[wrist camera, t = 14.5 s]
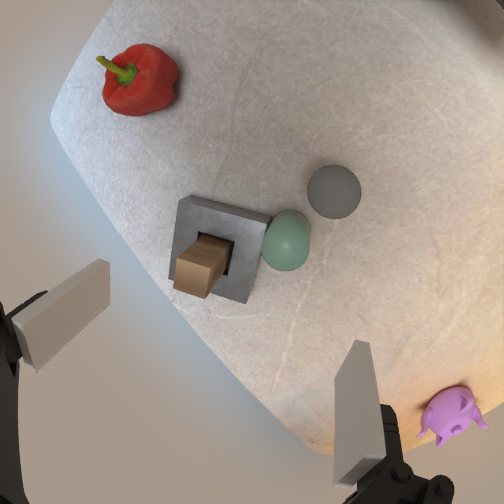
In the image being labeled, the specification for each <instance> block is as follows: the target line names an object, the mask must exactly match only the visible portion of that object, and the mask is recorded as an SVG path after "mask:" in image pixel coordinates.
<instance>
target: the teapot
mask: <svg viewBox="0 0 504 504" xmlns="http://www.w3.org/2000/svg"><path fill="white" fill-rule="evenodd" d="M472 419H473V420H475V422H476V423H477V424H478V425H479V426H480V427H481V428H484V429H487V428H489V426H488V425H487V424H485V422H484V421H483V419H482V416H481V412H480V410H479V408H478V407H477V406H476V405H475V403H474V396H473V393H472V392H471V391H470V390H469V389H467V388H464V387H452V388H449V389H446V390H444V391H442V392H440V393H439V394H437V395H436V396H435V397H434V398H433V399H432V400H431V401H430V403H429V404H428V406H427V408H426V410H425V411H424V413H423V414H422V417H421V427H422V429H421V432H420V433H419V434H418V435H417V436H416V437H419V436H422V435H424V434H425V433H426V432H427V430H428V427H429V428H430V429H431V430H432V431H433V432H434V433H436V444H437V447H442V446H443V445H444V444H445V442H446V441H447V439H448V438H449V437H453V436H457V435H459V434H460V433H461V432H463V431H464V430H465V429H466V428H467V427H468V426H469V424H470V422H471V420H472ZM442 437H443V438H442Z"/></svg>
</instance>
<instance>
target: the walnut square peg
mask: <svg viewBox="0 0 504 504" xmlns="http://www.w3.org/2000/svg"><path fill="white" fill-rule="evenodd" d="M234 245H235V241H231V240H228V239H225V238H221V237H218V236H214V235H211V234H207V233H204V234H203V235H202V236H201V237H200V238H199V239H198V240H196V241H195V242H194V243H193V244H192V245H191V246H190V247H189V248H187V249H186V250H185V251H184V252H183V253H182V254H181V255H180V256H178V257H177V261H176V269H175V277H174V285H173V289H176V290H179V291H182V292H185V293H188V294H191V295H194V296H197V297H200V298H203V299H205V298H206V297H207V295H208V294H209V292H210V291H211V290H212V288H213V287H214V285H215V284H216V282H217V281H218V279H219V278H220V276H221V275H222V273H223V272H224V271H225V269H226V268H227V266H228V265H229V263H230V262H231V258H232V254H233V249H234Z"/></svg>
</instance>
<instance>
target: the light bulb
mask: <svg viewBox="0 0 504 504" xmlns="http://www.w3.org/2000/svg"><path fill="white" fill-rule="evenodd" d="M307 194H308V199H309V202H310V204H311V206H312V208H313V209H314V210H315V211H316V212H317V213H318V214H320V215H321V216H323V217H326V218H329V219H341V218H344V217H347V216H348V215H350V214H351V213H352V212H354V210H355V209H356V208H357V206H358V205H359V202H360V199H361V186H360V183H359V181H358V179H357V177H356V176H355V175H354V173H353V172H351V171H350V170H349V169H347V168H345V167H343V166H339V165H328V166H325V167H322V168H320V169H319V170H317V171H316V172H315V173H314V174H313V176H312V177H311V179H310V181H309V184H308V189H307Z"/></svg>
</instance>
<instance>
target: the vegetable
mask: <svg viewBox="0 0 504 504" xmlns="http://www.w3.org/2000/svg"><path fill="white" fill-rule="evenodd" d="M96 60H97V61H98V62H100V63H101V64H102V65H103V66H104V67H106V68H107V70H106V73H105V79H106V82H105V85H104V88H103V92H102V95H103V99H104V101H105V103H106V105H107V106H108V107H109V108H110V109H111V110H113V111H114V112H116V113H118V114H123V115H127V116H143V115H146V114H149V113H150V112H151V111H160V110H163V109H164V108H166V107H168V105H169V104H170V103H171V102H172V100H173V98H174V90H173V86H172V85H173V84H174V83H175V81H176V80H177V78H178V69H177V66H176V64H175V63H174V61H173V60H172V59H171V58H170V57H169V56H168V55H167V54H166V53H165V52H163V51H162V50H161V49H159V48H157V47H155V46H152V45H149V44H136V45H132V46H131V47H129V48H128V49H127V50H125V51H124V52H123V53H120V54H118V55H117V56H115V57H114V58H113V59H112V60H111V61H109V60H108V59H106V58H105V56H98V57H96Z"/></svg>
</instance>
